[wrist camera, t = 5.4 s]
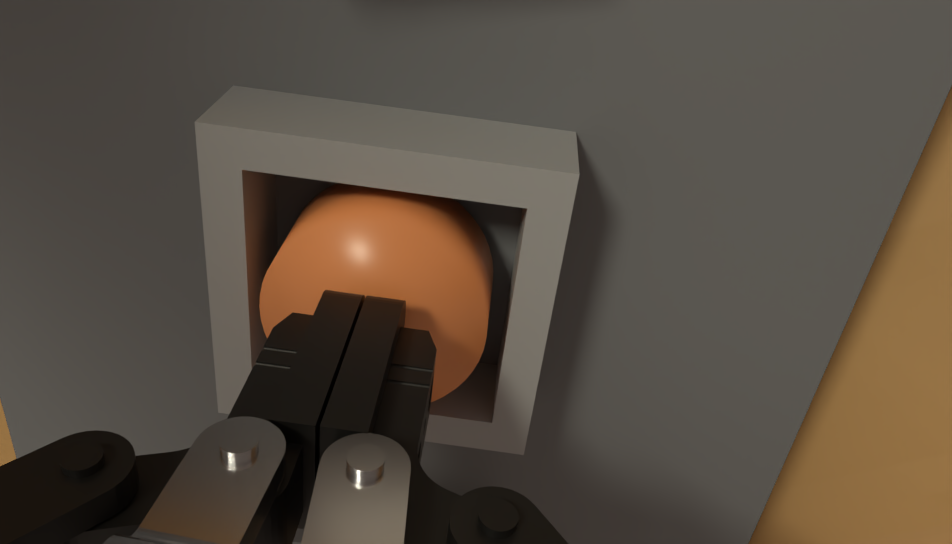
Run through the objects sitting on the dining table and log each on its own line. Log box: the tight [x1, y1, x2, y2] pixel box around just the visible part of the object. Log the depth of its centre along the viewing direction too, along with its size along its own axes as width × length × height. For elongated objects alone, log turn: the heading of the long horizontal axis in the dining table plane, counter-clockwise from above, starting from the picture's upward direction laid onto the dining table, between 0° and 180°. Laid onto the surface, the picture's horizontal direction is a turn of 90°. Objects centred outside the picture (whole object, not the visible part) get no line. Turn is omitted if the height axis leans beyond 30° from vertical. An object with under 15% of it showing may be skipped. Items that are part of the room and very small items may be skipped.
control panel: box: [0, 0, 952, 544], centre depth 17 cm, size 20×24×4 cm
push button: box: [259, 183, 493, 402], centre depth 16 cm, size 4×4×2 cm
